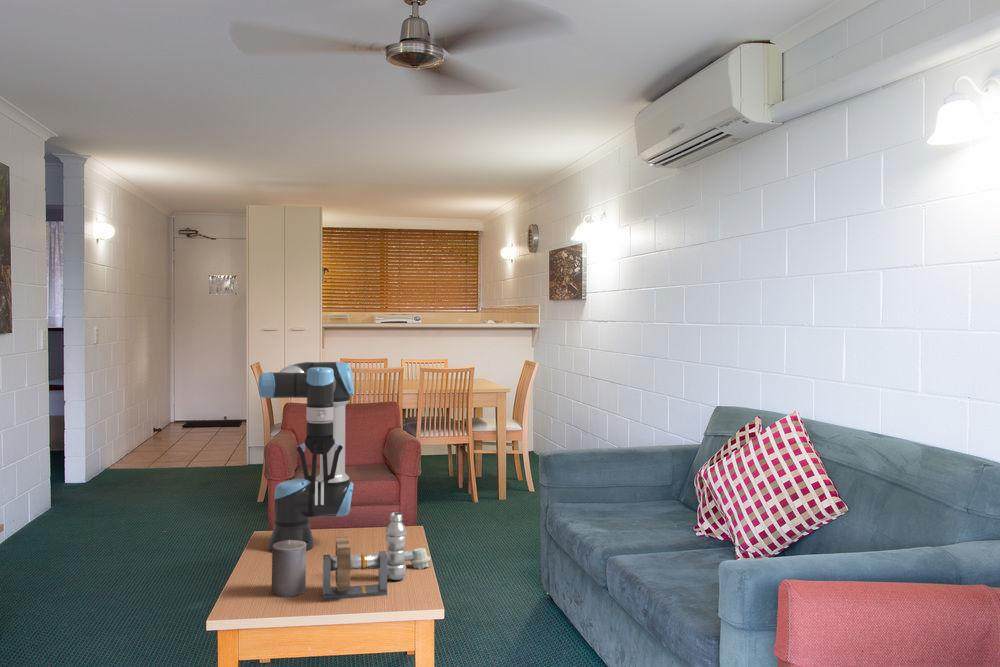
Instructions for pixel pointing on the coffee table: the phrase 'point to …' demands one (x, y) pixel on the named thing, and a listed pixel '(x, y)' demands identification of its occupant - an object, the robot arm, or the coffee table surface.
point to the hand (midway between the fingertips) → (319, 503)
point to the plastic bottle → (396, 547)
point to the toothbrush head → (417, 558)
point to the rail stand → (355, 563)
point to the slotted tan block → (342, 564)
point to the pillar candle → (288, 568)
